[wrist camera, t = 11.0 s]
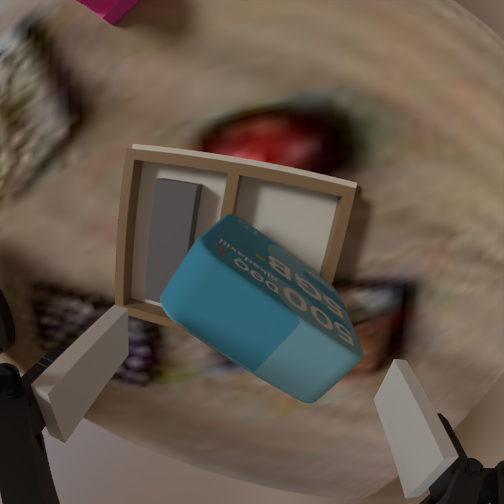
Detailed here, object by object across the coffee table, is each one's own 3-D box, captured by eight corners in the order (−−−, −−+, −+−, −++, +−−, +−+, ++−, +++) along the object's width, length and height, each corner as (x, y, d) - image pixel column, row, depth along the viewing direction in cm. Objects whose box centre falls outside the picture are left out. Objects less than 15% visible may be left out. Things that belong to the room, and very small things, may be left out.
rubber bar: (151, 291, 31) (144, 298, 29) (163, 178, 28) (155, 178, 26) (186, 300, 31) (181, 308, 29) (202, 184, 28) (197, 185, 26)
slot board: (122, 303, 33) (111, 313, 30) (136, 144, 28) (123, 142, 25) (310, 346, 32) (312, 361, 29) (355, 182, 27) (362, 184, 24)
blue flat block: (338, 289, 27) (370, 366, 15) (307, 323, 28) (318, 412, 17) (230, 210, 26) (191, 241, 14) (202, 250, 27) (149, 306, 16)
